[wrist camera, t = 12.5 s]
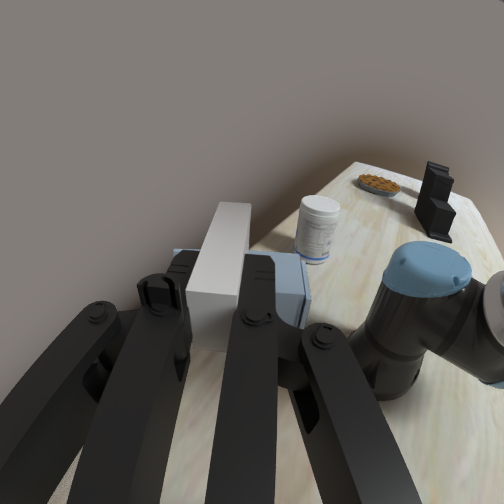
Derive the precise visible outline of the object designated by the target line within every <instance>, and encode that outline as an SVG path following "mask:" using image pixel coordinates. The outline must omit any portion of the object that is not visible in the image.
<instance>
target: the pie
mask: <svg viewBox="0 0 504 504" xmlns="http://www.w3.org/2000/svg"><path fill="white" fill-rule="evenodd" d="M358 181H359V184H360V186H361V188H363V189H364V190H366V191H369V192H371V193H374V194H377V195H380V196H385V197H393V196H395V195H396V194H397V193H398V192H400V188H399V186H398V185H397V184H396V183H395V182H391V180H386V179H384V178H383V177H377V176H371V175H369V174H367V175H364V174H363V175H362V176H361V175H360V176H359V178H358Z"/></svg>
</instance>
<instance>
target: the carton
mask: <svg viewBox="0 0 504 504" xmlns="http://www.w3.org/2000/svg"><path fill="white" fill-rule="evenodd" d="M248 254H257V255H269V256H271V258H272V259H273V261H274V262H275V287H276V312H277V314H278V316H279V317H280V318H281V319H282V320H283V321H284V322H286V323H287V324H289V325H292V326H294V327H297V328H301V329H304V327H305V323H306V320H307V316H308V312H309V308H310V305H311V301H312V299H311V292H310V286H309V279H308V273H307V267H306V261H305V260H301V263H300V256H299V254H293V253H280V252H268V251H255V250H248Z"/></svg>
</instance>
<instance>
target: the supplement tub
mask: <svg viewBox="0 0 504 504" xmlns="http://www.w3.org/2000/svg"><path fill="white" fill-rule="evenodd" d="M339 213H340V205H339V204H338V203H337V202H336V201H334V200H332V199H330V198H327V197H323V196H317V195H312V196H306V197H304V198H303V199H302V201H301V205H300V210H299V218H298V224H297V231H296V238H295V244H294V254H299V256H300V260H305V261H306V263H309V264H321V263H324V262H326V261H327V260H328V259H329V257H330V253H331V249H332V244H333V240H334V236H335V232H336V227H337V223H338V218H339Z"/></svg>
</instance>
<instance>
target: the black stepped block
mask: <svg viewBox="0 0 504 504" xmlns="http://www.w3.org/2000/svg"><path fill="white" fill-rule="evenodd" d="M448 172H449V168H448V167H445V166H442V165H439V164H436V163H433V162H429V161H428V162H427V166H426V171H425V175H424V179H423V182H422V186H421V190H420V193H419V197H418V201H417V204H416V207H415V211H414V212H415V214H416V215H417V217H418V219H419V221H420V222H421V224H422V226H423V228H424V229H425V231H426V233H427V235H428V236H429V238H432V239H436V240H440V241H443V242H447V243H452V239H451V238H450V236H449V235H448V233H449V230H450V227H451V225H452V222H453V219H454V217H455V215H456V212H455V211H454V209H453V208H452V207H451V206H450V205H449V204H448V203H447V202H448V198H449V195H450V192H451V188H452V184H453V183H454V179H453V178H452V177H450V176H449V175H448Z"/></svg>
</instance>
